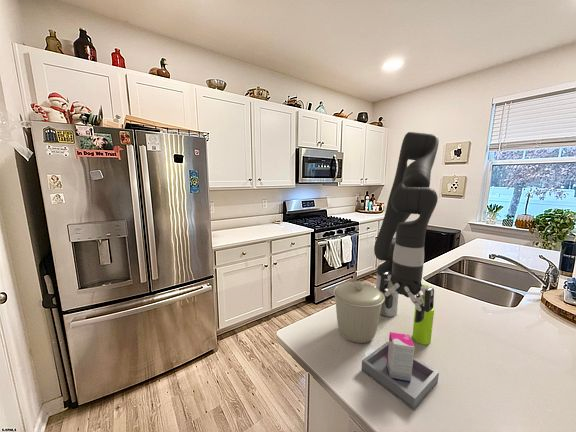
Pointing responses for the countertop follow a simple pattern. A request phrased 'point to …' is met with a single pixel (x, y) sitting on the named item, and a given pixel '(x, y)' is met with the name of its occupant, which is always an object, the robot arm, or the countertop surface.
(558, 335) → the countertop surface
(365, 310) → the canister
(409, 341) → the supplement box
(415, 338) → the soap dispenser
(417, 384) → the tray
